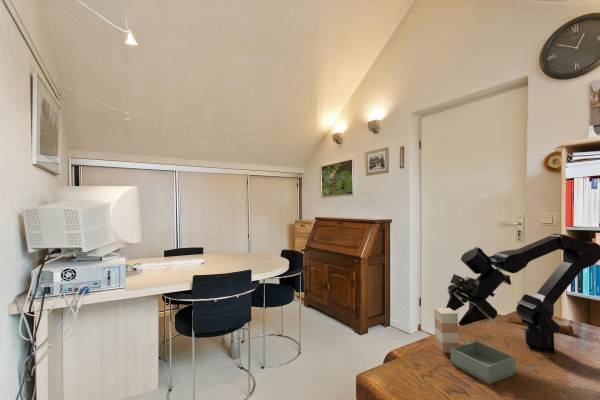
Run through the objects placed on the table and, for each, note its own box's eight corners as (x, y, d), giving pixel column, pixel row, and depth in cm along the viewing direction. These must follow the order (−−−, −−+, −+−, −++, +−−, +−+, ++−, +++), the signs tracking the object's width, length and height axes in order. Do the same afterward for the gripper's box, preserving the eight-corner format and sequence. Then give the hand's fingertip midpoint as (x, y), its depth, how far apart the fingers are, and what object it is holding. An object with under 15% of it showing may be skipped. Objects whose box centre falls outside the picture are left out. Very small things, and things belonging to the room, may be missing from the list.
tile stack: (450, 345, 94) (449, 307, 94) (459, 352, 89) (457, 313, 89) (435, 345, 94) (434, 308, 94) (442, 352, 89) (441, 313, 89)
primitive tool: (505, 322, 112) (505, 313, 112) (508, 318, 116) (508, 310, 116) (573, 338, 98) (572, 327, 98) (574, 333, 102) (574, 323, 102)
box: (476, 354, 87) (476, 340, 87) (515, 373, 77) (515, 357, 77) (450, 363, 83) (450, 348, 83) (488, 383, 73) (488, 366, 73)
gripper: (452, 261, 101) (421, 292, 101) (485, 272, 83) (448, 311, 82) (475, 283, 101) (444, 315, 101) (514, 299, 82) (476, 339, 82)
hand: (451, 319), depth 91 cm, fingers open, 9 cm apart
